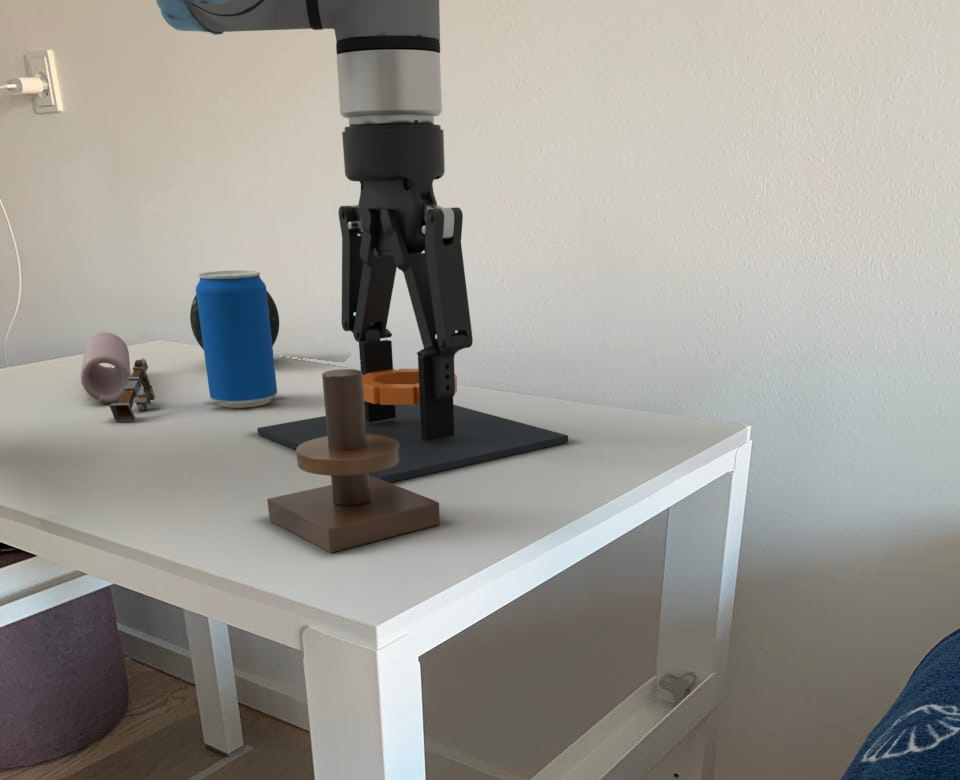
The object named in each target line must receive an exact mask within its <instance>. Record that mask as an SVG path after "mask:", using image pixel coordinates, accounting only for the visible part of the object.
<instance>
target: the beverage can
mask: <svg viewBox="0 0 960 780" xmlns="http://www.w3.org/2000/svg"><path fill="white" fill-rule="evenodd" d="M260 275H261V272H260V271H258V270H246V269H245V270H244V269H243V270H242V269H241V270H235V269H234V270H219V271H218V270H217V271H208V272H207V271H206V272H201V273H199V274H198V278H199V280H198V282H197V284H196V287H195V295H196V296H197V303H198V310H199V318H200V325H201V333H202V340H203V348H204V350H203V352H204V353H203V355H204V361H205V368H206V376H207V383H208V392H209V398H210V399H212V401H215V402H217V403H218V405H219V406H221V407H224V408H229V409H230V408H231V409H244V408H254V407H255V408H256V407H260V406H264V405H267V404H269V403H270V402H271V400H272V399H273V398H274V397H275V396H276V395H277V394H278V387H277V377H276V367H275V357H274V348H273V347H274V346H273V347H272V338H271V328H270V319H269V309H268V300H267V291H268V290H267V286H266V283H265V282H264V280H263V279H262V278H261V276H260Z"/></svg>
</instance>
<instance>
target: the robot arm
mask: <svg viewBox="0 0 960 780" xmlns="http://www.w3.org/2000/svg"><path fill="white" fill-rule="evenodd" d="M155 1H156V4H157V6H158V8H159V9H160V13H161V16H162V18H163V20H164V21H165V22H166V24H168V25H169V26H170V27H171V28H173V29H175V30H176V31H181V32H203V33H209V34H211V35H212V34H213V35H214V36H217V35H223V34H224V33H229V32H231V33H232V32H255V31H259V32H260V31H262V32H263V31H283V30H284V31H285V30H286V31H288V30H308V29H309V30H311V29H312V30H314V31H323V30H333V31H334V35H335V41H336V43H335V50H336V66H337V67H336V68H337V82H338V83H337V84H338V85H337V86H338V101H339V114H340V115H341V117H343V118H345V119H348V126H345V127H344V131H341V137H342V151H343V166H344V175H345V177H346V178H347V179H348V180H349V181H351V182H359V184H360V191H359V200H358V204H354V205H340V206H339V208H338V220H339V227H340V232H341V328H342V330H343V331H344V332H351V333H352V334H353V335H352V336H353V338H354V340H355V342H358V350H359V364H360V371H361V372H362V375H363V374H366V373H371V372H378V371H384V370H391V369H394V362H393V361H394V360H393V345H392V343H393V342H392V340H389V338H392V336H393V333H392V332H391V331H390V330H389V329H388V328H387V324H388V319H389V314H390V308H391V302H392V297H393V296H392V295H393V291H394V287H395V280H396V274H397V269H398V270H399V271H401V272H402V273H403V276H404V280H405V283H406V288H407V291H408V295H409V298H410V302H411V305H412V309H413V313H414V318H415V320H416V324H417V328H418V332H419V336H420V339H421V343H422V347H423V348H422V349H420V350H419V351H417V352H416V354H417V369H418V372H419V393H420V415H421V436H422V440H425V441H431V440H436V439H440V438H445V437H450V436H454V409H453V405H454V397H455V395H454V393H455V384H454V383H455V378H454V377H455V375H456V373H455V356H456V354H457V353H458V352H459V351H461V350H463V349H468V348H471V347H472V345H473V341H474V338H473V331H472V323H471V314H470V305H469V298H468V289H467V280H466V274H465V273H466V272H465V263H464V257H463V249H462V247H463V246H462V233H463V220H464V216H463V215H464V214H463V210H462V209H461V208H460V207H443V206H440V205H438V201H437V199H436V195H435V192H434V186H433V184H434V181H435V180H439V179H441V178H443V176H444V175H445V172H446V171H445V168H446V166H445V165H446V164H445V137H444V136H445V135H444V133H445V132H444V129H442V127H441V125H440V124H435V117H439V116H440V115H441V114H442V112H443V102H442V101H443V99H442V98H443V97H442V77H441V75H442V74H441V26H440V22H441V21H440V20H441V19H440V16H441V15H440V0H155ZM456 331H457V332H456ZM381 339H382V340H381ZM383 339H384V340H383ZM455 394H456V393H455ZM364 406H365V420H366V422H369V423H370V422H375V421H381V420H386V419H392V418H396V412H395V405H380V403H379V404H372V403H369V402H365V401H364Z"/></svg>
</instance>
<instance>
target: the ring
mask: <svg viewBox="0 0 960 780" xmlns="http://www.w3.org/2000/svg"><path fill="white" fill-rule="evenodd" d="M362 378H363V392H364V401H365V402H369V403H372V404H379V403H380V405H414V404H415V403H416V404H420V393H419V372H418V368H399V369H394V368H393V369H391V370H384V371H378V372H371V373H366V374H363V375H362ZM454 378H455V383H454V384H455V393H454V396H455V395H456V393H457V392H458V377H457V374H455V377H454Z"/></svg>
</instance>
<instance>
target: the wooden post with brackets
mask: <svg viewBox="0 0 960 780" xmlns="http://www.w3.org/2000/svg"><path fill="white" fill-rule="evenodd" d="M133 364H134V365H133V367H132V371H133V372H132V374H131V377H129V378H128V381H127V384H126V387H125V388H124V390H125V392H124V394H123V396H122V397H121V399H120V400H119V401H118V402H116V403H111V404H108V405H109V408H110V411H111V413H112V416H113V418H114V421H115V422H135V419H136V417H135V413H134V412H133V411H134V410H133V405H134V401H135V398H138V399H137V401H135V405H136V407H137V410H138V411H139V412H143V411H148V410H149V409H148V407H149V405H152V402H151V401H155V399H156V396H155V393H154V388H153V385H151V381H150V380H149V377H148V374H147V371H148V369H149V366H148V362H147V359H145V358H140V359H136V360H135V361H134V363H133ZM141 388H142V391H143V393H142V394H139V392H140V390H141Z"/></svg>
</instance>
